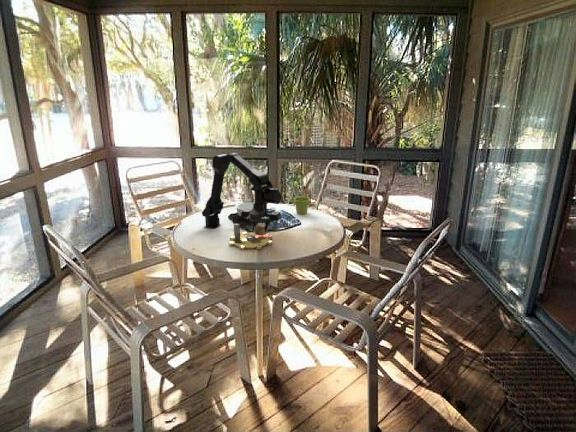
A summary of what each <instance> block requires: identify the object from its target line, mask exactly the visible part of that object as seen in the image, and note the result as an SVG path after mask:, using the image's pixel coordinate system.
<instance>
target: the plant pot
mask: <svg viewBox="0 0 576 432" xmlns="http://www.w3.org/2000/svg"><path fill="white" fill-rule="evenodd" d="M293 201H294V203H295V205H294V206H295V211H296V214H298V215H305V214H308V209H309V204H310V201H311V198H309V197H307V196H296V197H294V198H293Z"/></svg>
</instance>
